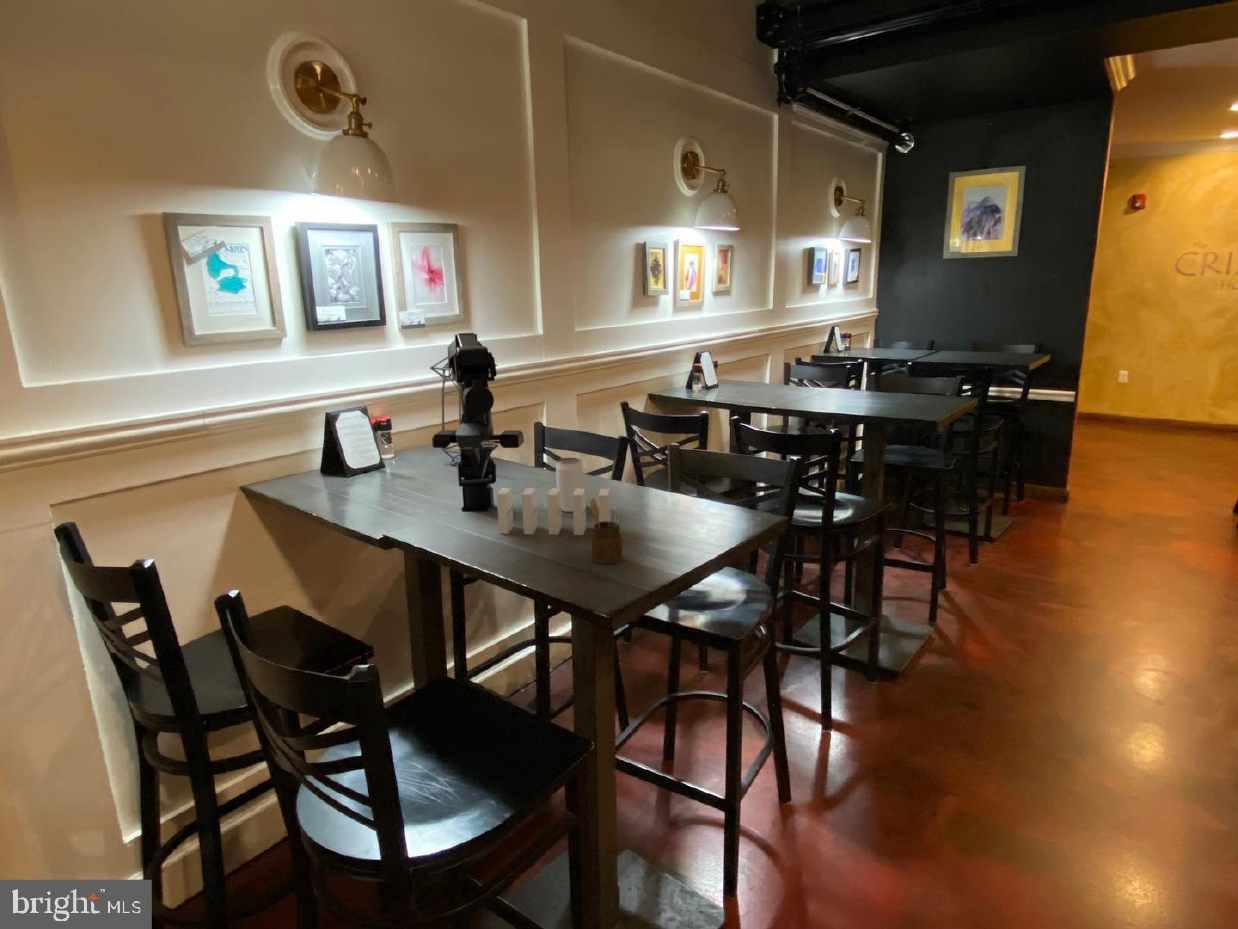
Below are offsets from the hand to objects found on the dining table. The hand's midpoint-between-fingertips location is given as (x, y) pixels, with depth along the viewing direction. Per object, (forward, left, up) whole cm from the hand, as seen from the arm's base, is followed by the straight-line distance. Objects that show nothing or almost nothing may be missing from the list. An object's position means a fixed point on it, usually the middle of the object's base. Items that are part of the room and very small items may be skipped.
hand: (480, 477), depth 155 cm
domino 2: (+10, 0, -12) cm, 16 cm away
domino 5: (+27, 0, -12) cm, 30 cm away
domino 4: (+21, 0, -12) cm, 25 cm away
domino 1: (+5, 0, -12) cm, 13 cm away
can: (+17, +16, -12) cm, 26 cm away
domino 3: (+16, 0, -12) cm, 20 cm away
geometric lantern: (-21, +61, -12) cm, 66 cm away
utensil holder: (+29, -16, -12) cm, 35 cm away
